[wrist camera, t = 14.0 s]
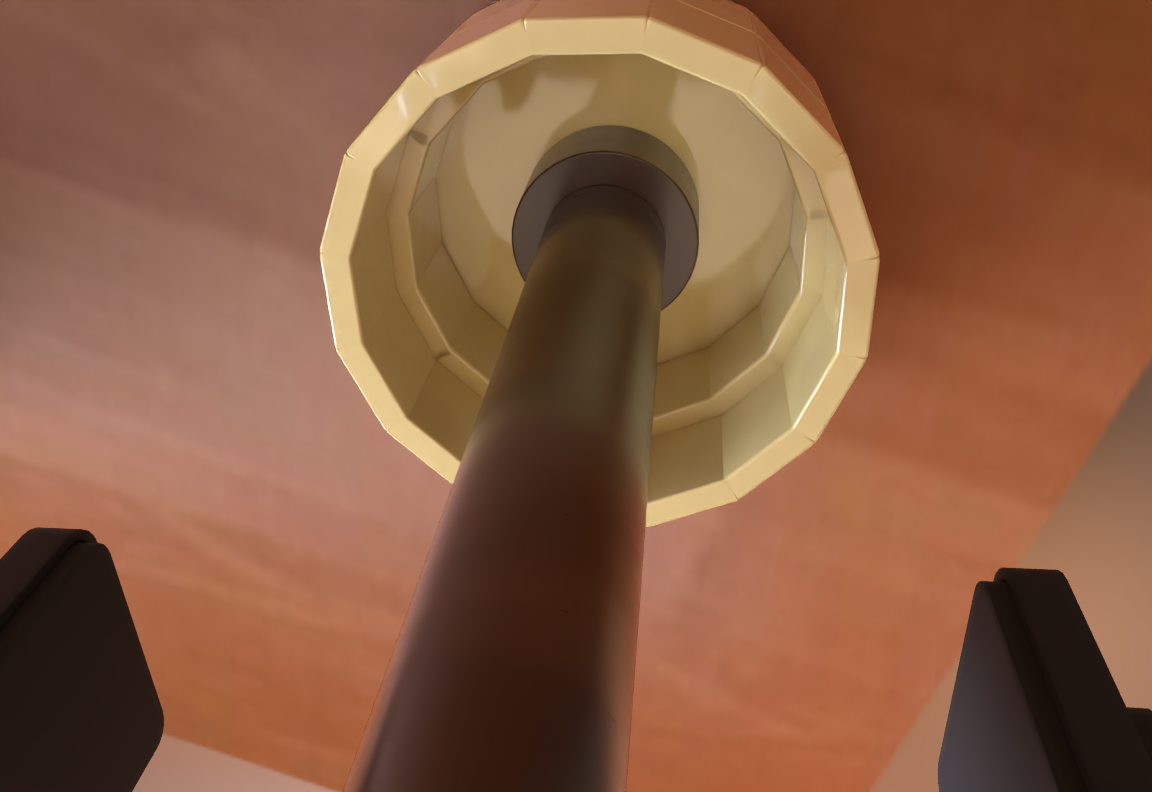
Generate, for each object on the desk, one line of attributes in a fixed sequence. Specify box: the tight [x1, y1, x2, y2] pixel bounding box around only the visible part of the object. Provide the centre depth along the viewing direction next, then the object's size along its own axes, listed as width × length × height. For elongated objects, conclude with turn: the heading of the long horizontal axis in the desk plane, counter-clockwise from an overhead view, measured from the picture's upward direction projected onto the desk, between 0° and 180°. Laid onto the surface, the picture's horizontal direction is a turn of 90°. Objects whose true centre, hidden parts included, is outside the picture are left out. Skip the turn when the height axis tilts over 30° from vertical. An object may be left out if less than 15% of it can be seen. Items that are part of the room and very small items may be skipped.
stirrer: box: [343, 125, 699, 792], centre depth 16 cm, size 4×4×18 cm
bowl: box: [320, 0, 880, 527], centre depth 22 cm, size 10×10×6 cm
